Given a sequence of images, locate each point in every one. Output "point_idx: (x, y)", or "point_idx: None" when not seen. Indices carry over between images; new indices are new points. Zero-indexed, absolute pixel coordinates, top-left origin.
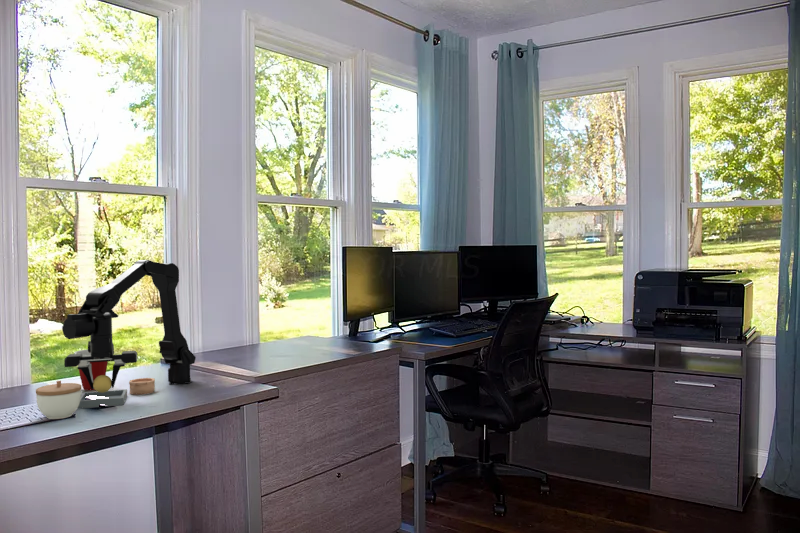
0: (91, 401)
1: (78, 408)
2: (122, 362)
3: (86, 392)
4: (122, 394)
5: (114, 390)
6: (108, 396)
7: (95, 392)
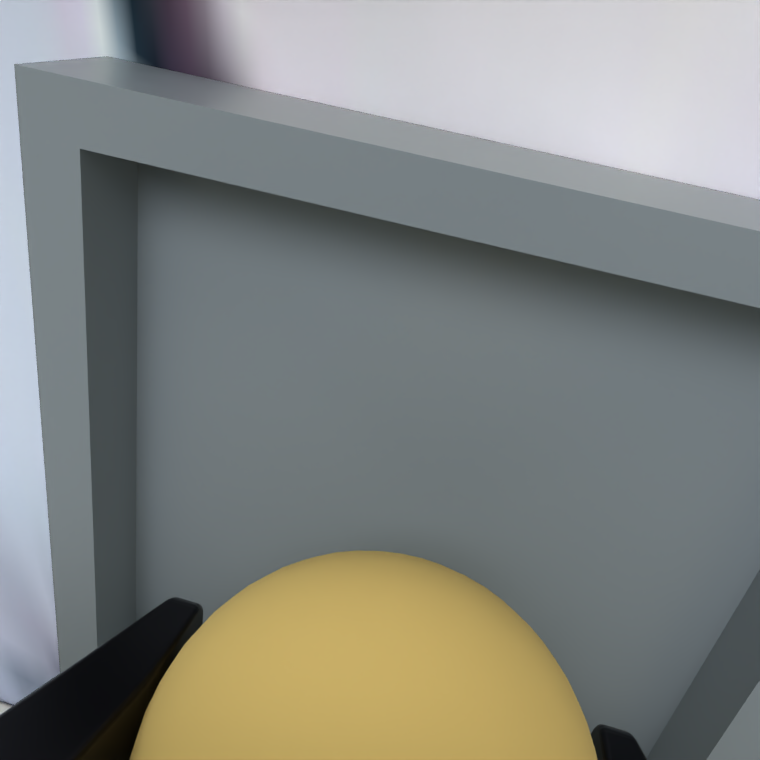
0: None
1: None
2: None
3: (91, 107)
4: (740, 726)
5: (741, 264)
6: (561, 298)
7: (289, 195)
